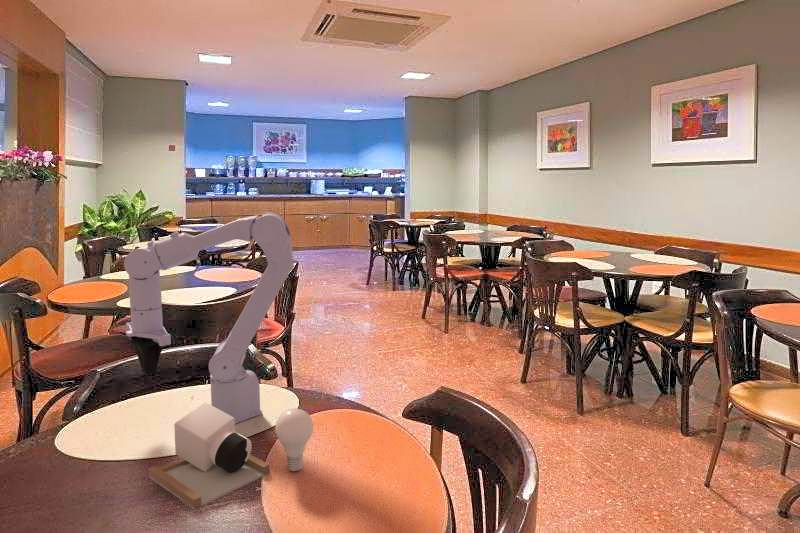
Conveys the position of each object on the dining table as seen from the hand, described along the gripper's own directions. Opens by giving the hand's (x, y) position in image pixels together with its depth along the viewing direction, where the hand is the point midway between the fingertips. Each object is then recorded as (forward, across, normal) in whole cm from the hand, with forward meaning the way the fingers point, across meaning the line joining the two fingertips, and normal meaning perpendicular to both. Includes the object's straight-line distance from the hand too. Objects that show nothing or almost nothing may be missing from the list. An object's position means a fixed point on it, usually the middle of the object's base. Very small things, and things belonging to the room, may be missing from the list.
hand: (149, 372), depth 113 cm
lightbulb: (+10, +37, +7) cm, 39 cm away
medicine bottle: (+4, +20, -3) cm, 21 cm away
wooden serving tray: (+10, +28, -4) cm, 30 cm away
